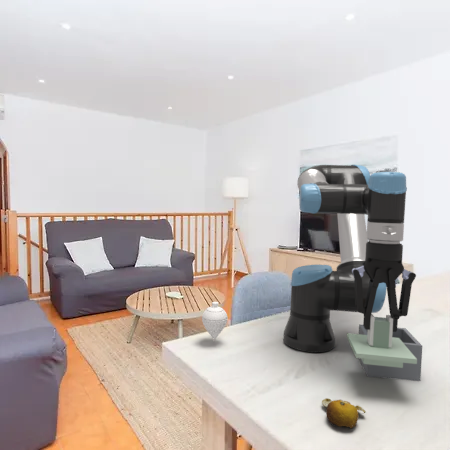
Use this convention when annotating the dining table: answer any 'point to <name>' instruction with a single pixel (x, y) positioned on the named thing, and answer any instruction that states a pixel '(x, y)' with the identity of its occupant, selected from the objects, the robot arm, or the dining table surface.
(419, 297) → the dining table surface
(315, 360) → the dining table surface
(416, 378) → the storage box
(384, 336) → the lid
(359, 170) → the robot arm
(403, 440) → the dining table surface
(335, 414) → the fruit
